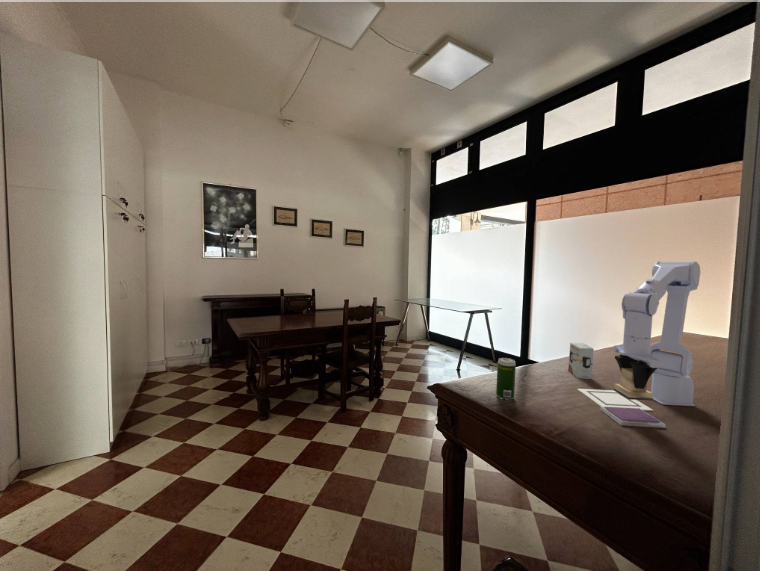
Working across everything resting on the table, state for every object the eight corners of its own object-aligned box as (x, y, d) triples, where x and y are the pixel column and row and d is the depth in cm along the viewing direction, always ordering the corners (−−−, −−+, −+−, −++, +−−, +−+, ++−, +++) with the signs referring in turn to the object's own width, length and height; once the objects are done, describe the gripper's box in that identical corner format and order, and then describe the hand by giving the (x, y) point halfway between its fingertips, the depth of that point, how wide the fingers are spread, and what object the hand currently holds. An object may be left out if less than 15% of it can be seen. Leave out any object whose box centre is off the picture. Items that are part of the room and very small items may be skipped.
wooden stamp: (635, 391, 89) (637, 367, 88) (652, 400, 83) (654, 375, 82) (613, 390, 89) (615, 366, 89) (628, 399, 83) (630, 373, 83)
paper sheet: (620, 391, 105) (620, 390, 105) (653, 411, 91) (653, 409, 91) (577, 389, 106) (577, 388, 106) (603, 408, 92) (603, 407, 92)
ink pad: (639, 411, 91) (639, 407, 90) (665, 427, 82) (665, 423, 81) (599, 409, 91) (600, 405, 91) (620, 425, 82) (621, 420, 82)
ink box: (567, 370, 125) (569, 342, 125) (580, 371, 125) (582, 342, 124) (578, 378, 117) (580, 347, 116) (592, 379, 116) (594, 348, 115)
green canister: (517, 400, 96) (519, 363, 96) (500, 400, 96) (502, 362, 95) (509, 393, 102) (511, 357, 101) (493, 393, 102) (494, 357, 101)
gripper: (604, 330, 92) (601, 374, 93) (641, 342, 78) (637, 395, 79) (629, 331, 92) (626, 376, 93) (671, 343, 77) (667, 396, 78)
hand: (633, 384), depth 86 cm, fingers closed on wooden stamp, 4 cm apart
